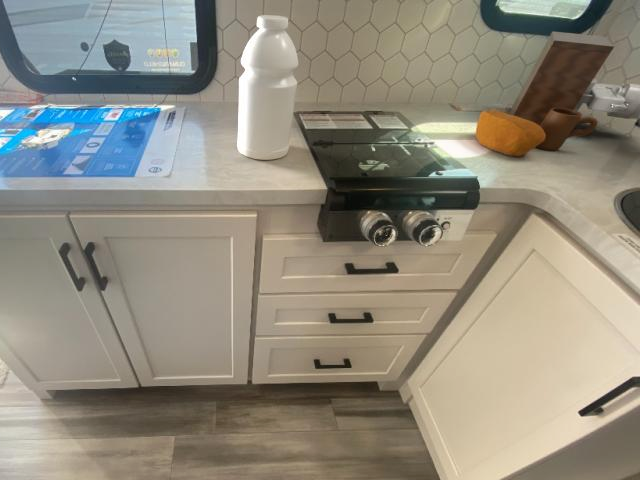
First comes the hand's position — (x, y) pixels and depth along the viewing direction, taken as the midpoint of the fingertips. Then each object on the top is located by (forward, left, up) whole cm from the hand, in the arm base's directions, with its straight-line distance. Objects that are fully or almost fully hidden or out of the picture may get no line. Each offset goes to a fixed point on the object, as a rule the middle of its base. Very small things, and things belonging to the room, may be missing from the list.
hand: (571, 93), depth 111 cm
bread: (+22, +31, -9) cm, 39 cm away
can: (-1, 0, -7) cm, 7 cm away
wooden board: (+6, -2, -9) cm, 11 cm away
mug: (+7, +26, -9) cm, 28 cm away
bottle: (+86, +62, -9) cm, 106 cm away
